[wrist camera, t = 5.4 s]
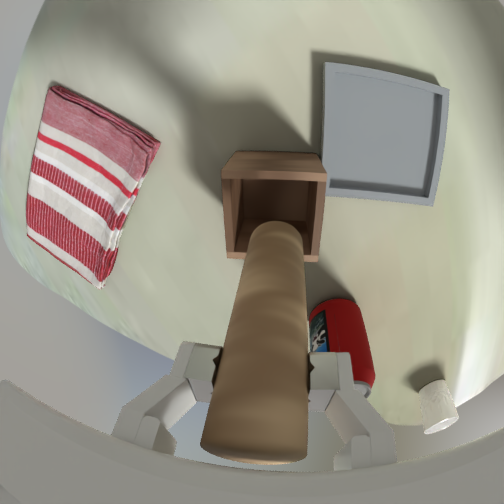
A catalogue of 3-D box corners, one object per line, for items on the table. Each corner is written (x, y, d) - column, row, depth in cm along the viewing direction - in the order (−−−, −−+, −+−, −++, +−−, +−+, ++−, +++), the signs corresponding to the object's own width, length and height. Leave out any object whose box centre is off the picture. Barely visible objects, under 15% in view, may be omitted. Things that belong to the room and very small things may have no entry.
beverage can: (301, 302, 33) (304, 389, 23) (355, 287, 31) (376, 373, 21) (315, 335, 36) (319, 414, 26) (363, 323, 34) (379, 401, 24)
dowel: (304, 222, 15) (316, 442, 5) (300, 267, 17) (299, 466, 7) (249, 219, 16) (190, 430, 6) (250, 265, 18) (208, 457, 7)
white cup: (442, 390, 44) (452, 426, 36) (413, 399, 46) (420, 437, 38) (451, 373, 40) (463, 412, 32) (419, 384, 42) (429, 425, 34)
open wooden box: (316, 153, 23) (327, 173, 17) (311, 224, 27) (317, 262, 21) (236, 150, 24) (220, 170, 18) (239, 221, 28) (227, 258, 22)
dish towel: (167, 139, 24) (156, 145, 22) (108, 285, 36) (100, 297, 34) (58, 82, 20) (43, 85, 18) (30, 228, 32) (20, 237, 30)
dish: (442, 88, 17) (449, 89, 16) (427, 200, 24) (432, 206, 22) (322, 63, 18) (325, 61, 17) (318, 190, 25) (319, 195, 24)
